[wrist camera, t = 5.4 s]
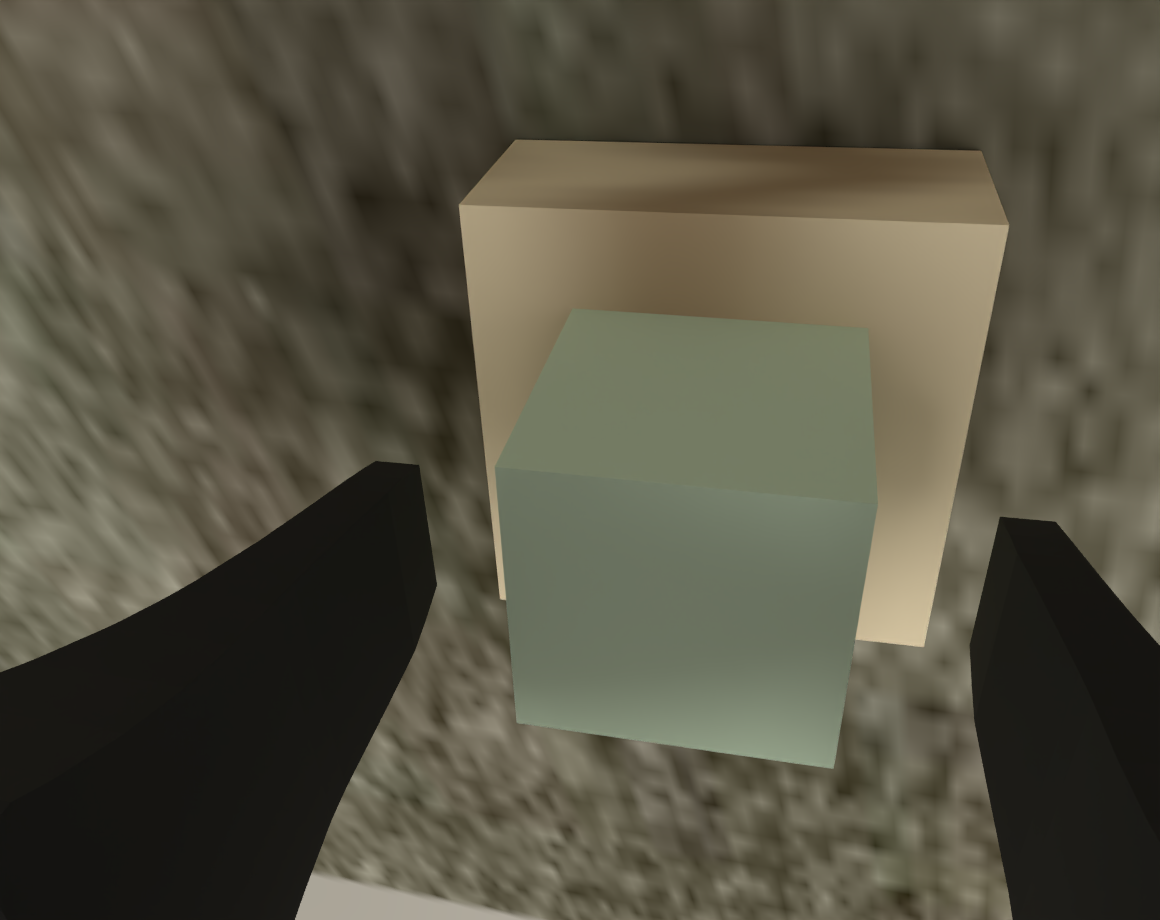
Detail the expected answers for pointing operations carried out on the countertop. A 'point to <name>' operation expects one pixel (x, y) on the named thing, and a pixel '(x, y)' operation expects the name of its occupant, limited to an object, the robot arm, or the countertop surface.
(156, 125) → the countertop surface
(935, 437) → the maple block
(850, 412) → the sage block
